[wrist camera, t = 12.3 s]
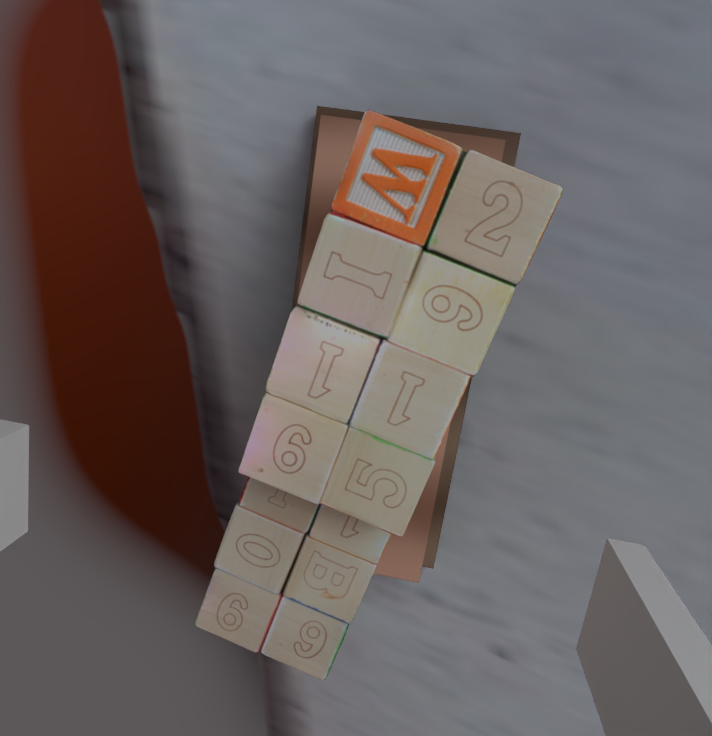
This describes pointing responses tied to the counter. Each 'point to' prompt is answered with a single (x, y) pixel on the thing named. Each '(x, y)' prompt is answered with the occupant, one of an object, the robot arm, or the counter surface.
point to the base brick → (324, 176)
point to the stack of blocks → (368, 382)
